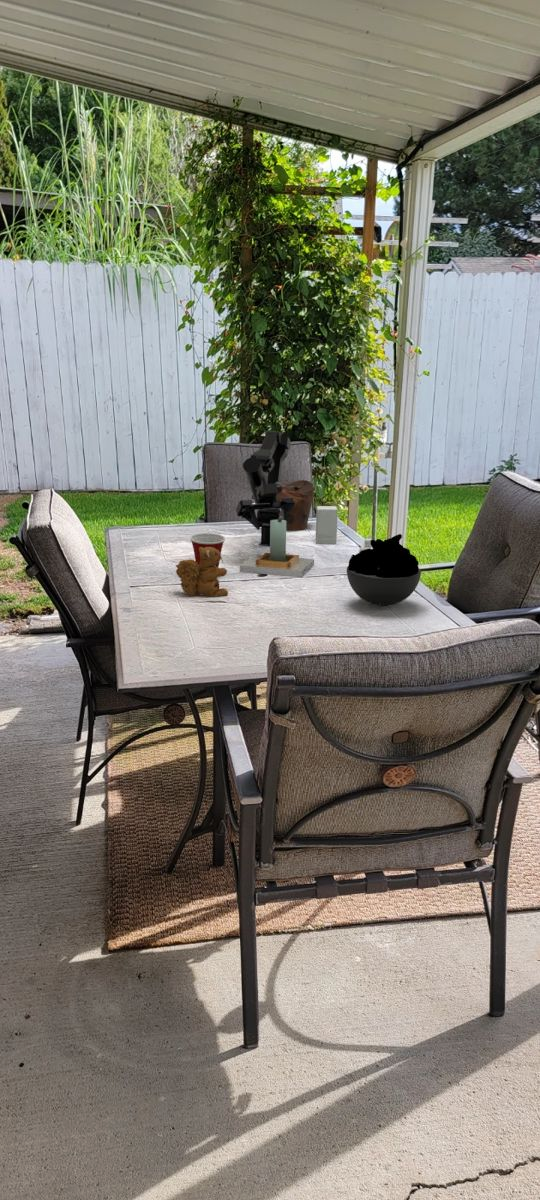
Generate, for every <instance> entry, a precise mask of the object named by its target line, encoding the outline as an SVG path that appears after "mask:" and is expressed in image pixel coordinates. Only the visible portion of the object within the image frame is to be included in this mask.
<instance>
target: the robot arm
mask: <svg viewBox="0 0 540 1200" xmlns="http://www.w3.org/2000/svg"><path fill="white" fill-rule="evenodd" d="M291 445H292V444H291V439H290V437H289V436H287V435H285V434H283V433H282V432H280V431H279V430H278V431H277V430H268V431H266V432H265V435H264V439H263V442H262V443H261V445H260V448H259V449H258V450H255V451H254V452H253V453H252V454H250V456H249V458H247V459H245V461H243V463H242V468H243V471H244V474H245V476H246V479H247V481H248V484H249V487H250V490H251V493H252V494H251V498H249V499H240V500H239V502H238V504H237V506H236V509H235V513H236V515H237V517H241V518H242V519H245V520H247V522H249V523H250V524H251V525H252V526H253V527H254V528H255V529H256V530H257V531H259V530H260V537H261V538H260V543H259V545H262V546H270V521H271V520H278V519H279V516H282V517H283V519H282V520H285V521H286V526H287V515H288V513H290V512H291V510H292V508H293V507H294V505H295V501H294V499H293V498H292V497H283V498H281V500H280V502H278V495H279V493H280V492H282V490H283V488H282V485H283V484H282V482H281V477H282V469H283V462H284V461H285V459H286V458H287V457H288V455H289V450H291ZM265 473H267V478H266V474H265ZM253 501H254V503H253ZM256 510H257V511H256ZM256 512H257V513H256Z"/></svg>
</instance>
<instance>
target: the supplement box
mask: <svg viewBox="0 0 540 1200" xmlns="http://www.w3.org/2000/svg"><path fill="white" fill-rule="evenodd" d="M338 511H339V510H338V507H337V505H334V506H332V505H331V506H329V505H326V506H325V505H317V506H316V513H315V516H316V517H315V518H316V520H315V543H316V544H318V545H337V538H338V537H337V536H338V535H337V534H338Z"/></svg>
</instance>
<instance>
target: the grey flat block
mask: <svg viewBox="0 0 540 1200" xmlns="http://www.w3.org/2000/svg"><path fill="white" fill-rule="evenodd" d="M314 566H315V559H314V558H304V557H300V555H299V554H298V555H297V554H287V553H286V562H282V561H270V552H264V554H254V555H251V556H250V557H249V558H248V559H247V560H245V561H243V563H241V564H240V565H239V572H240V573H249V574H251V573H252V574H262V575H263V574H264V575H274V576H285V577H286V576H287V577H297V578H302V577H304V576H305V575H306V574H307V573H308V572H309V571H310V570H311V569H312V568H313V567H314Z"/></svg>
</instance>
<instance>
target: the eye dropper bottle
mask: <svg viewBox="0 0 540 1200" xmlns="http://www.w3.org/2000/svg"><path fill="white" fill-rule="evenodd" d="M371 540H373V539H372V538H371V534H368V535H367V537H366V538H364V545H363V546H361V547H359V551H358V553H359V552H360V551H362V550H365V549H373V548H372V546H371Z"/></svg>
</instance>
